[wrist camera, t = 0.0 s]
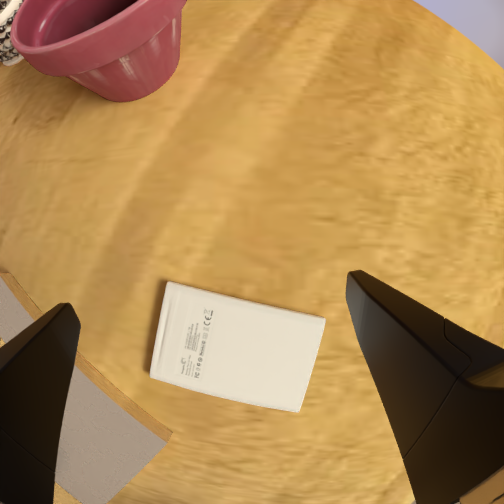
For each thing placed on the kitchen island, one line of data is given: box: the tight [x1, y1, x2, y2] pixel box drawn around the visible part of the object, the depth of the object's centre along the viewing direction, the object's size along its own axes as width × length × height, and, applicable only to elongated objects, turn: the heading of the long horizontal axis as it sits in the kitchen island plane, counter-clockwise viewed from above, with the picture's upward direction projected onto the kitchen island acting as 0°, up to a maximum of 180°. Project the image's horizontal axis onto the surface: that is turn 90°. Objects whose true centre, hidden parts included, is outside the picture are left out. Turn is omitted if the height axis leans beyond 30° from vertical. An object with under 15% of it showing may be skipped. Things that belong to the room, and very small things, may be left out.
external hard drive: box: [150, 281, 326, 412], centre depth 24 cm, size 2×8×12 cm
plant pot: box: [10, 0, 187, 102], centre depth 19 cm, size 14×14×13 cm
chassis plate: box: [0, 273, 173, 504], centre depth 22 cm, size 22×16×2 cm
